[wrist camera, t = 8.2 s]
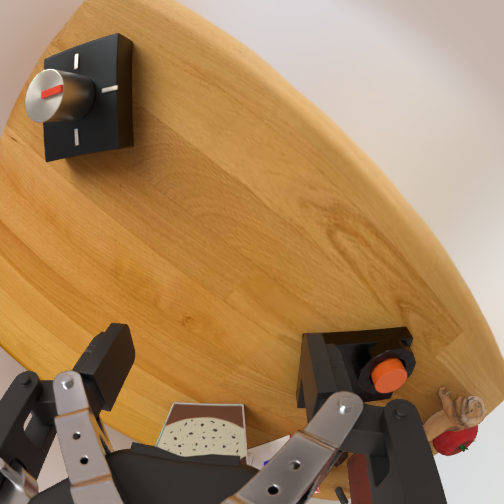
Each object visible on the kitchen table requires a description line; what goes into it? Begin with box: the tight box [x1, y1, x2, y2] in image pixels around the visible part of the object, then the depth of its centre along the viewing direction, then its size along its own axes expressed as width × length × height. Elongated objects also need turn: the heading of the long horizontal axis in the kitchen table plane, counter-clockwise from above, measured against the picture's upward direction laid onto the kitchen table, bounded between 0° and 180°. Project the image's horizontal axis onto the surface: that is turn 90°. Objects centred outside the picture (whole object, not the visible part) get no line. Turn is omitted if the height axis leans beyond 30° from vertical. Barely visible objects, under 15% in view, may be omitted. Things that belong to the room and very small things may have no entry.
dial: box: [25, 69, 95, 123], centre depth 17 cm, size 4×4×5 cm
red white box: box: [247, 435, 320, 494], centre depth 36 cm, size 8×8×8 cm
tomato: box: [433, 425, 478, 456], centre depth 34 cm, size 9×9×8 cm
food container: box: [155, 402, 254, 466], centre depth 31 cm, size 12×6×10 cm, turn 95°
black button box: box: [296, 327, 416, 408], centre depth 30 cm, size 10×12×4 cm
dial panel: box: [43, 33, 134, 162], centre depth 20 cm, size 10×8×3 cm
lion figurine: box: [418, 386, 487, 442], centre depth 31 cm, size 15×5×9 cm, turn 135°
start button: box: [371, 358, 407, 393], centre depth 27 cm, size 4×4×2 cm
